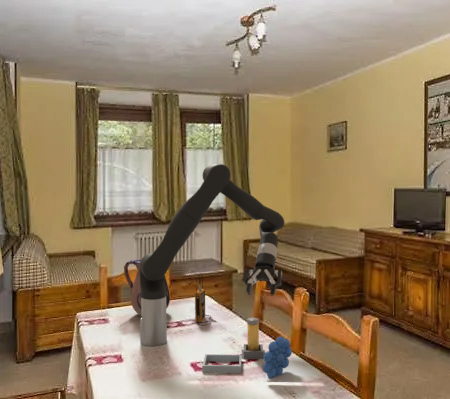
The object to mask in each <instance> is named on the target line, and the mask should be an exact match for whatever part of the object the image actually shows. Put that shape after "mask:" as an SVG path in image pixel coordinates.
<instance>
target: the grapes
mask: <svg viewBox="0 0 450 399" xmlns="http://www.w3.org/2000/svg"><path fill="white" fill-rule="evenodd" d="M290 345H291V343H290V340H289V339H288V338H284V337H283V336H278V337H276V339H275V341H274V340H273V341H271V342H270V343H269V344H268V350H267V351H266V352H265V354H264V357H263V358H264V359H263V361H264V363H263V364H262V371H263V372H264V373H266V375H267V378H269V379H271V378H272V379H273V378H274V377H276V376H281V375H282V374H283V372H284V370H283V369H286V368H287V367H289V363H290V361H289V359H288V358H290V357H291V356H292V353H293V352H292V348H291V347H290Z"/></svg>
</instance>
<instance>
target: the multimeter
mask: <svg viewBox="0 0 450 399" xmlns="http://www.w3.org/2000/svg"><path fill="white" fill-rule="evenodd" d="M203 276H204V275H203V274H202V273H199V274H198V276H196V278H195V281H197V279H198V281H199V282H198V283H199V284H198V285H199V286H198V288H197V285H195V292H194V310H195V311H194V315H195V317H194V318H195V319H194V320H195V321H194V322H195V323H197V325H199V326H202V327H203V326H207V325H211V324H212V323H215V322H216V323H218V320H215V319H212V315H208V314H206V288H204V286H203V282H204V281H203V280H204V277H203ZM201 277H202V278H201ZM206 316H207V317H209V318H208V319H209V320H211V321H212V322H208V323H205V324H200V323H203V321H204V319H205V318H206Z"/></svg>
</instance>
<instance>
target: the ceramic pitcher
mask: <svg viewBox="0 0 450 399" xmlns="http://www.w3.org/2000/svg"><path fill="white" fill-rule="evenodd" d="M141 260H142V258H141V259H131V260H128V261H127V262H126V263H125V264H124V266H123V272H124V277H125V279H126V282H127V283H128V284H127V285H128V287H129V289H130V304H131V307H132V309H133V310H134V312H136V314H138V315H139V316H141V317H142V307H141V288H140V262H141ZM130 265H134V266H135V267H136V269H137V272H136V274H135V278H134V281H133V280H132V279H131V277H130V273H129V269H128V268H129V266H130ZM164 282H165V288H166V310H167V309H168V308H169V305H170V301H171V293H170V288H169V285H168V282H167V279H166V274H165V275H164Z"/></svg>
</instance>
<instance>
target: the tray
mask: <svg viewBox="0 0 450 399" xmlns="http://www.w3.org/2000/svg"><path fill="white" fill-rule="evenodd" d="M207 362H237V363H238V365H235V364H234V365H233V364H231V365H230V364H229V365H227V364H224V365H223V364H222V365H221V364H220V365H219V364H207ZM201 366H202V368H201V370H202V371H201V372H202V373H220V374H221V373H225V374H226V373H227V374H228V373H229V374H231V373H232V374H237V373H238V374H241V373H242V354H221V353H220V354H215V353H212V354H211V353H209V354H207V353H205V354H204V358H203V361H202V365H201Z"/></svg>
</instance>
